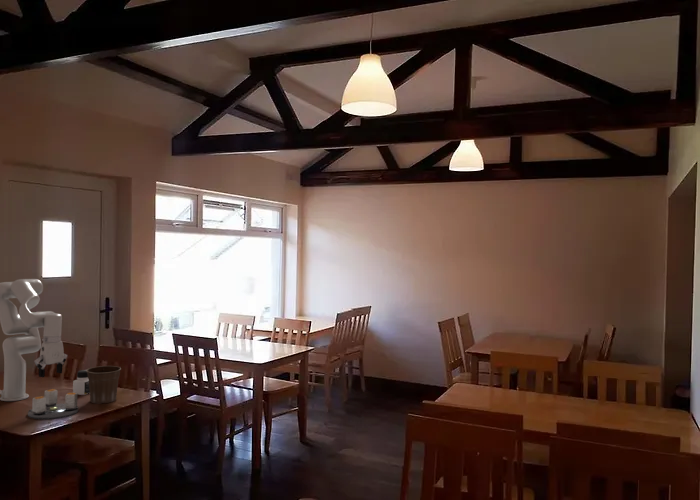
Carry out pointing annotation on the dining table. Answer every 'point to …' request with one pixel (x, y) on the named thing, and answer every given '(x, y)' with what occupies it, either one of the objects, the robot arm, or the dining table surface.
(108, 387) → the plant pot
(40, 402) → the knob
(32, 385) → the dining table surface
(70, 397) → the white short cylinder
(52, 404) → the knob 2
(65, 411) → the grey round tray
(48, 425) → the dining table surface
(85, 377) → the medicine bottle
